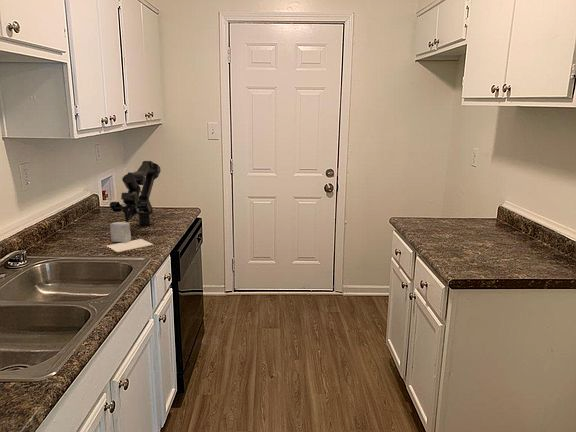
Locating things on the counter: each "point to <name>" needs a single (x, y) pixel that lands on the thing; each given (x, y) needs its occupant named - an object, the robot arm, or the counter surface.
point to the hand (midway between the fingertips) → (126, 221)
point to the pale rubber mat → (129, 245)
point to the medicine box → (120, 232)
